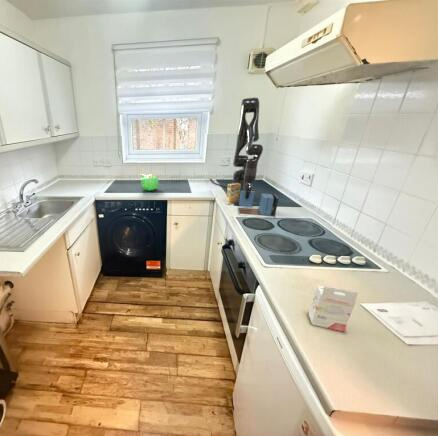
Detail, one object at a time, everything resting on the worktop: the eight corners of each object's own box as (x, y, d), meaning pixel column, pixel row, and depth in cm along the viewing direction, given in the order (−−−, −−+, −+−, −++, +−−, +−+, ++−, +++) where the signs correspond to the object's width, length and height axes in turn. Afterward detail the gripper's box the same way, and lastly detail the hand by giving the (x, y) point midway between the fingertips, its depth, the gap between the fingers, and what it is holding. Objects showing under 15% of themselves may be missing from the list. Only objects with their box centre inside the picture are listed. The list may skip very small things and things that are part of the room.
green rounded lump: (158, 192, 209) (159, 176, 204) (139, 192, 210) (139, 176, 204) (158, 187, 226) (158, 172, 220) (140, 187, 226) (140, 172, 221)
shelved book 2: (263, 210, 165) (266, 193, 160) (267, 210, 164) (271, 194, 159) (265, 215, 157) (268, 197, 152) (270, 215, 156) (274, 198, 151)
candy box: (228, 204, 179) (231, 185, 173) (225, 203, 183) (227, 183, 177) (238, 203, 181) (241, 184, 175) (234, 201, 185) (237, 182, 179)
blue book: (238, 205, 177) (240, 190, 172) (251, 206, 175) (254, 190, 170) (238, 207, 174) (241, 191, 170) (251, 208, 172) (254, 192, 167)
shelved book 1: (258, 209, 166) (261, 193, 161) (262, 210, 165) (265, 193, 160) (260, 214, 158) (263, 197, 153) (265, 214, 157) (268, 197, 152)
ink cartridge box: (338, 320, 76) (353, 283, 70) (344, 332, 72) (360, 293, 66) (307, 313, 79) (319, 276, 73) (311, 324, 75) (324, 286, 69)
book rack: (237, 208, 170) (240, 191, 165) (271, 211, 165) (274, 193, 160) (239, 215, 160) (242, 196, 155) (274, 218, 154) (279, 199, 149)
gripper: (257, 176, 158) (253, 201, 165) (254, 172, 170) (250, 195, 177) (245, 176, 160) (241, 200, 166) (243, 171, 172) (240, 194, 179)
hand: (246, 197), depth 172 cm, fingers open, 3 cm apart
